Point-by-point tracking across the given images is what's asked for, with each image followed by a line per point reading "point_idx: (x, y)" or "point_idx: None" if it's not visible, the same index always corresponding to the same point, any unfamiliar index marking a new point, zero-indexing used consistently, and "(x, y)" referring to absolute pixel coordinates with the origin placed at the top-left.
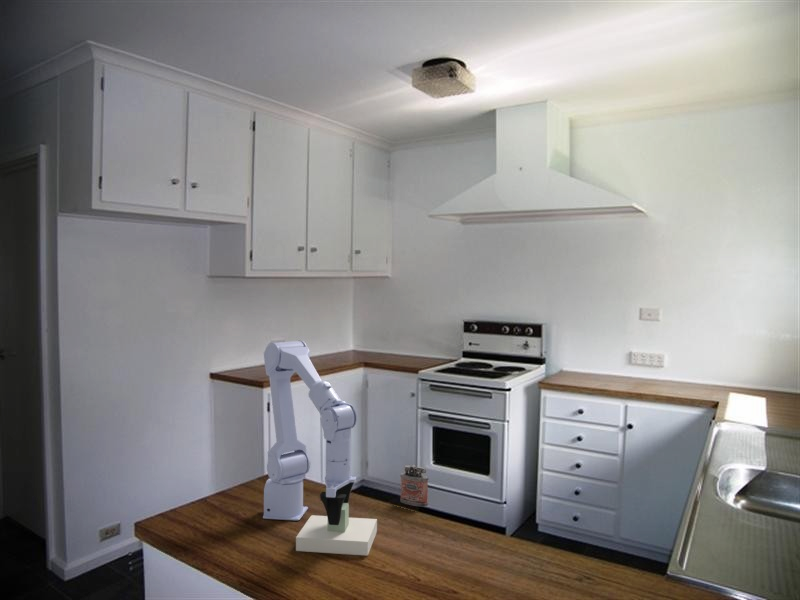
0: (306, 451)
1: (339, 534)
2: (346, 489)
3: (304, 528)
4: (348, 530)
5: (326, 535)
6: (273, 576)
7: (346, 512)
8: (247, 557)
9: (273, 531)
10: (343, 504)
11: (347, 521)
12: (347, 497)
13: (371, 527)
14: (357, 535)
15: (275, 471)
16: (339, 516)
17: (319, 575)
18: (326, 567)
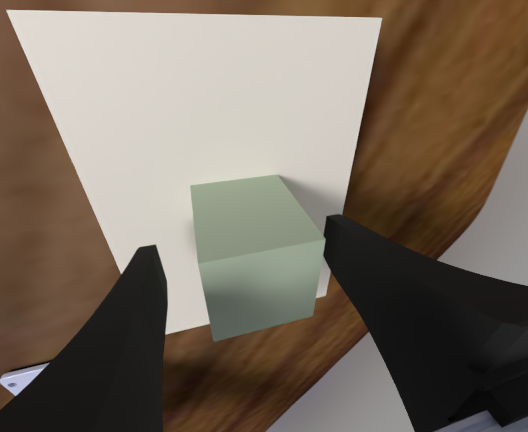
0: None
1: (301, 188)
2: (128, 393)
3: None
4: (256, 164)
5: None
6: (416, 251)
7: (268, 226)
8: (337, 322)
9: (211, 350)
10: (232, 282)
11: (225, 195)
12: (136, 312)
13: (188, 31)
14: (307, 102)
15: None
16: (376, 234)
17: (438, 162)
18: (402, 160)
